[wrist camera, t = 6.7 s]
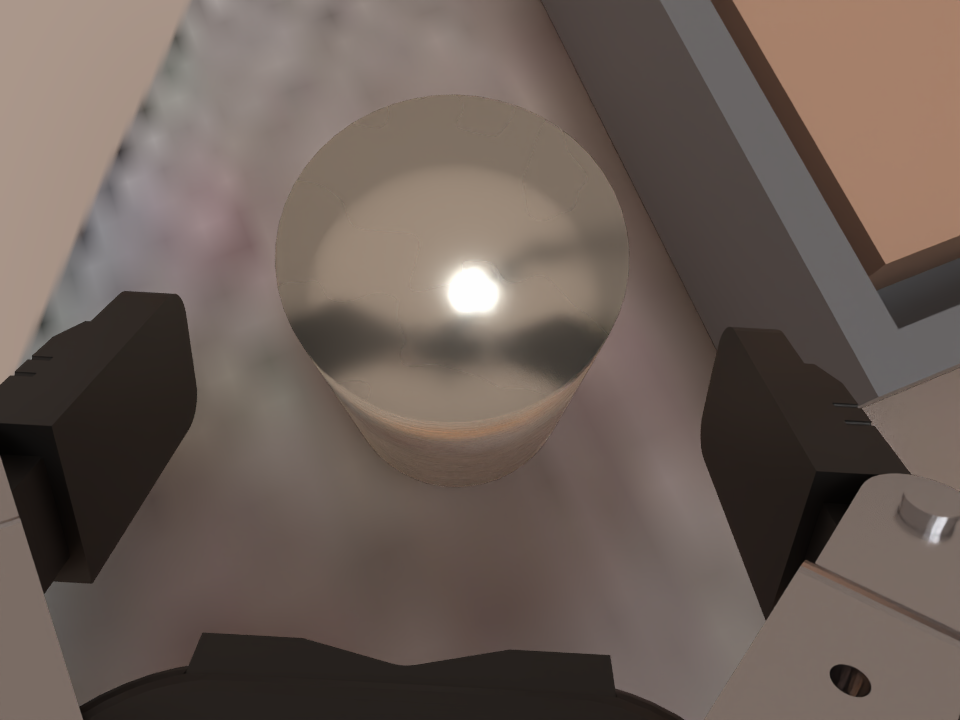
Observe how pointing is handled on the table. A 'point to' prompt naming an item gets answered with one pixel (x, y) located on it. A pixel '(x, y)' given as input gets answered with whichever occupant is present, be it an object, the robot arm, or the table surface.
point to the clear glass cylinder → (453, 280)
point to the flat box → (867, 116)
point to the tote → (748, 199)
